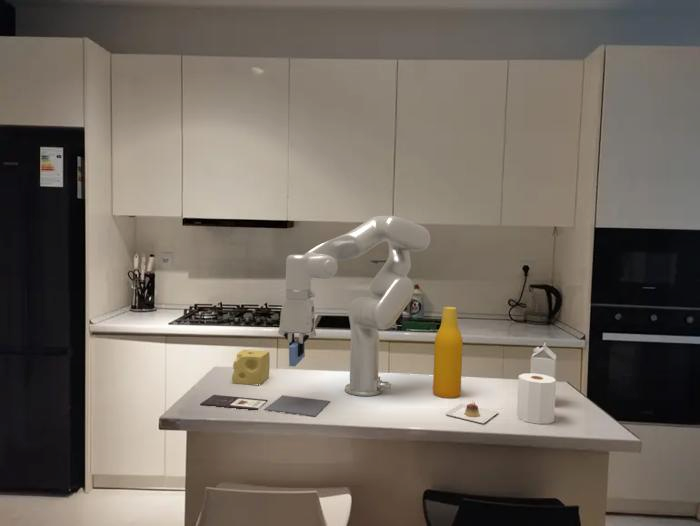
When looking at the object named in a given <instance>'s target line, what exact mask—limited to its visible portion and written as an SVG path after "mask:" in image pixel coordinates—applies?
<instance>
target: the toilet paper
mask: <svg viewBox="0 0 700 526" xmlns="http://www.w3.org/2000/svg"><path fill="white" fill-rule="evenodd" d="M517 385H518V386H517V405H516V415H517V418H518V419H519V420H522V421H524V422H527V423H532V424H537V425H543V424H544V425H545V424H548V425H549V424H551V423H553V422H555V410H556V409H555V408H556V392H557V391H556V389H557V387H556V386H557V379H556V378H555V379H554V378H553V377H550V376H547V375H543V374H535V373H525V372H524V373H521V374H519V375H518V383H517Z"/></svg>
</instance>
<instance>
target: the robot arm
mask: <svg viewBox="0 0 700 526" xmlns="http://www.w3.org/2000/svg"><path fill="white" fill-rule="evenodd" d="M383 242H387V244H388V250H389V251H388V258H387V260H386V262H385V263H384V265H383V266H381V269H380V270H378V273H377V274H376V275H375V277H374V278H373V280H371V283H370V284H369V292H370V294H371V295H372V297H370V296H359V297H355V298H354V299H353V300H352V301H351V303H350V304H349V307H348V320H349V324H350V325H349V326H350V357H349V383H347V384H346V385H345V386H344V391H345V392H346V393H347V394H350V395H354V396H358V397H359V396H360V397H371V396H377V395H380V394H381V393H383V389H385V390H390V389H391V386H392V385H391V383H390V382H389V381H387V380H385V381H384V380H381V376H379V367H380V365H379V361H380V360H379V359H380V333H379V330H381V331H385V330H388V329H390V328H391V327H392V326H393V325H394V324H395V323H396V321H397V320H398V319H399V318H400V316H401V315H402V314H403V312H404V310H405V308H406V307H407V306H408V305H409V303H410V301H411V299H412V298H413V294H414V284H413V281H412V280H411V279H410V277H408V276H407V275H408V274H409V272H410V270H411V265H412V261H411V255H410V252H422V251H424V250H426V249H427V248H428V247H429V245H430V243H431V235H430V232H429V231H428V229H427V227H425V226H423V225H420V224H418V223H416V222H413V221H411V220H408V219H406V218H403V217H399V216H396V215H378V216H377V215H376V216H374V217H372V218H370V219H368V220H366V221H365V222H364V223H362V224H360V225H358V226H357V227H355V228H354V229H351V230H350V231H348V232H347V233H345V234H342V235H340V236H339V235H338V236H337V237H335V238H332V239H329V240H327V241H325V242H323V243H320V244H318V245H317V246H314V248H311V249H310V250H308V251H307V252H306V253H304V254H290V255H288V256H287V257H286V265H285V266H286V267H285V298H284V299H283V300H282V305H281V309H280V316H279V317H280V319H279V329H278V332H277V333H278V335H280V336H283V337H284V338H285V339H286V340H287V342H288V343H289V345H288V347H289V346H290V345H291V344H292V343H294V342H295V341H296V338H295V334H299V337H298V338H299V343H298V357H300V356H301V355H302V354H303V353H304V342H306V341H308V340H309V339H310V338H314V337H316V336H317V333H316V312H315V304H314V300H313V299H311V298H315V296H316V292H313V291H312V288H311V285H312V283H311V282H312V278H313V279H322V280H326V279H327V280H328V279H330V278H332V277H334V276H335V275H336V274H337V272H338V269H339V267H338V266H339V265H338V262H339V261H345V260H350V259H355V258H358V257H361V256H362V255H364V254H366V253H367V252H368V251H371V249H373V248H374V247H376V246H378V245H379V244H381V243H383Z"/></svg>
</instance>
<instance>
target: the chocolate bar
mask: <svg viewBox="0 0 700 526" xmlns="http://www.w3.org/2000/svg"><path fill="white" fill-rule="evenodd" d="M267 401H268V399H263V398H262V399H261V398H251V397H242V396H241V397H240V396H231V395H230V396H229V395H222V394H213V395H211V396H210V397H208V398H207V399H205V400H203V401H202V402H201V403H199V406H203V407H211V406H216V407H215V408H221V407H224V408H223V409H231V408H236V409H235V410H241V409H248V410H247V411H251V410H257V411H258V409H259V408H260V407H261V406H262V405H263V406H264V405H266V404H267V403H268V402H269V401H268V402H267ZM266 402H267V403H266ZM263 406H262V407H263ZM262 407H261V408H262ZM261 408H260V409H261ZM260 409H259V410H260Z"/></svg>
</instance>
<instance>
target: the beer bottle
mask: <svg viewBox="0 0 700 526" xmlns="http://www.w3.org/2000/svg"><path fill="white" fill-rule="evenodd" d="M440 322H441V323H440V326H439V329H438V331H437V332H436V334H435V338H434V347H433V348H434V352H433V353H434V354H433V380H432V393H433V395H434V396H436V397H439V398H443V399H456V398H459V397H461V393H462V371H463V370H462V369H463V368H462V367H463V362H462V361H463V349H464V348H463V345H464V342H463V336H462V333H461V332H460V329H459V325H458V313H457V307H453V306H444V307H443V309H442V317H441V321H440Z"/></svg>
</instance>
